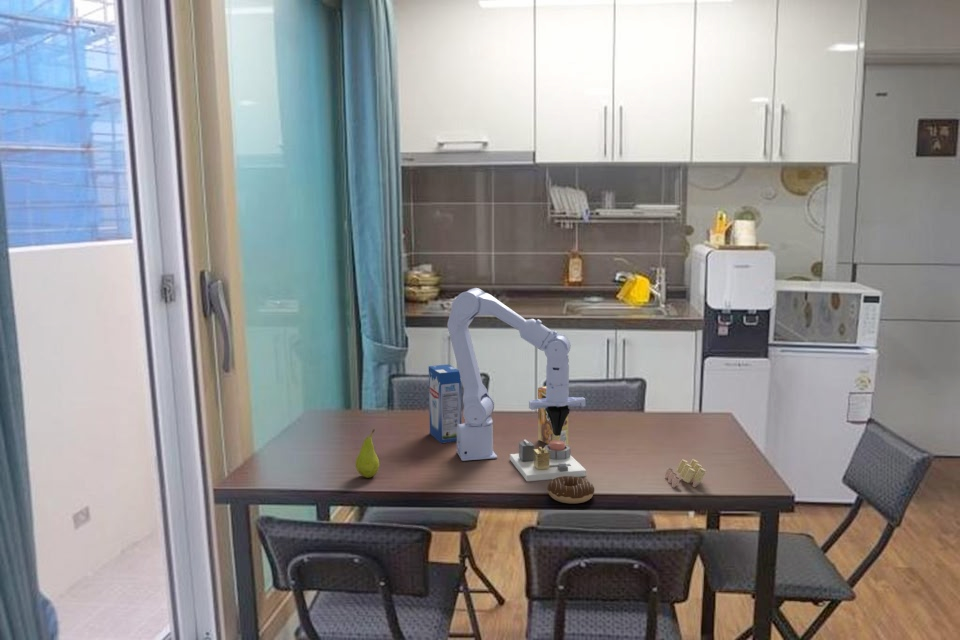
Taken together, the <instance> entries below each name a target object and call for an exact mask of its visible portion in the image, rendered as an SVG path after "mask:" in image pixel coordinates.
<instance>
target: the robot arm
mask: <svg viewBox="0 0 960 640" xmlns="http://www.w3.org/2000/svg"><path fill="white" fill-rule="evenodd" d="M477 315H478V316H493V317H495V318H497V319H498V320H500V321H502V322H503V323H506V324H507V325H509V326H511V327H512V328H514V329H516V330H517V331H518V332H519V336H520V338H521V339H523V340H524V341H526V342H527V343H529V344H530V345H532V346H533V347H535V348H537V350H538V349H539V350H540V351H543V352H544V355H545V356H546V366H545V367H546V370H545V371H546V372H545V373H546V375H545V376H546V377H545V378H546V379H545V380H546V381H545V384H546V385H545V386H546V398H543V399H538V398H537V399H533V400H531V399H530V400H528V409H529V410H531V411H533V410H534V411H535V409H536V410H538V409H539V408H545V410H546V412H547V414H548V416H549V418H550V421H551V424H552V429H553V434H554V435H555V436H560V435H561V431H562V427H563V424H564V422H565V420H566V418H567V416H568V417H569V414H570V411H571V410H570V408H571V407H586V398H585V397H578V396H577V397H573V396H571V397H570V396H569V395H570V394H569V392H570V390H569V389H570V387H569V386H570V385H569V383H570V363H569V362H570V359H569V355H568V354H569V352H570V351H571V341H570V340H569V338H568V337H567V336H566V335H564V334H563V333H558V331H557V330H552V329H550V328H548V327H547V326H545V325H544V324H542V323H543V321H542V320H540V319H539V318H538V319H537V320H536V319H534V318H529V319H525V318H524V317H523V316H521V315H520V314H518V313H517V312H515V311H514V310H513V309H511V307H508V306H507V305H505V303H503V302H501V300H498V299H497V298H496V297H494V296H493V295H492V294H490V293H488V292H485V291H484V290H482V289H480V288H479V287H478V288H477V287H474V288H473V287H472V288H470V289H468V290H467V291H463V292H461V293H459V294H458V295H457V296H456V297H455V299H454V300H453V301H452V303H451V309H450V313H449V315H448V316H449V317H448V319H447V331H448V334H449V337H450V341H451V345H452V349H453V352H454V356H455V357H454V358H455V361H456V364H457V365H456V366H457V369H458V370H459V373H460V377H461V385H462V387H463V388H462V389H463V396H462V403H463V410H462V416H463V419H464V420H465V422H463V423H461V424H458V425H457V441H456V454H457V455H458V456H459V458H460V460H461V461H462V462H465V461H466V462H467V461H477V460H488V459H497V458H498V455H497V454H496V453H495V451H494V440H493V439H494V438H493V437H494V433H493V431H494V430H493V427H494V426H493V424H494V422H493V418H492V416H491V415H492V413H493V412H494V410H495V401H494V400H493V398H492V397H491V396H490V394H489V393H488V389H487V388H486V386H485V385H484V383H483V380H482V376H481V372H480V368H479V364H478V360H477V358H476V357H477V356H476V353H475V348H474V344H473V342H472V337H471V334H470V329H469V326H470V325H471V323H472V322H473V320H474V318H475V317H476V316H477Z"/></svg>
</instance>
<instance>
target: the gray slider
mask: <svg viewBox="0 0 960 640" xmlns="http://www.w3.org/2000/svg"><path fill="white" fill-rule="evenodd" d="M534 449H535V445H534V443H533V442H531V440H529V441H528V440H527V439H523V441H518V454H519V458H520V459H521V460H522V461H534Z"/></svg>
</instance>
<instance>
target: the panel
mask: <svg viewBox="0 0 960 640" xmlns="http://www.w3.org/2000/svg"><path fill="white" fill-rule="evenodd" d="M544 448H545V449H546V450H547V451H548V452H549V469H539V470H538V469H537V468H536V467H535V466H534V461H522V460H521V459H520V458H519V453H509V460H510V461H511V463H512V464H513V466H514V467H515V469H517V470H518V472H519V474H521V476H522V477H523V478H524V480H525V481H526V482H535V481H546V480H547V481H549V480H553V479H555V478H557V477H562V476H574V477H579V478H582V477H587V469H586V468H585V467H584V466H582V464H581V463H580V462H579V461H577V460H576V459H575V458H574V457H573V456H572V454H571V447H570V446H569V444H568V445H565V450H558V451H556V450H550V449H549V444H546V445H544V446H543V449H544Z"/></svg>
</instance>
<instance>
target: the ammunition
mask: <svg viewBox="0 0 960 640" xmlns="http://www.w3.org/2000/svg"><path fill="white" fill-rule="evenodd" d="M699 463H700V462H699V461H698V460H696V459H694V458H692V459H691V461H690V462H689V461H688V460H685V459H681V461H680V462H679V464H678V467H677V468H676V472H677V473H678V474H679V477H678V475H677V474H676V473H675V472H674V471H675V470H673V469H672V468H670V467H667V469H666V470H665V474H664V479H666V480H667V482H668V483H669V484H671V488H676V486H678V484H679V483H680V482H681V478H682V480H683V481H684V482H686V483H688V484H692V487H693V488H696V487H697V486H698V485H699V484H700V483H701V482H702V480H703V478H704V476H705V474H706V472H707V470H706V469H704V468H703V465H701V464H699ZM680 477H681V478H680Z"/></svg>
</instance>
